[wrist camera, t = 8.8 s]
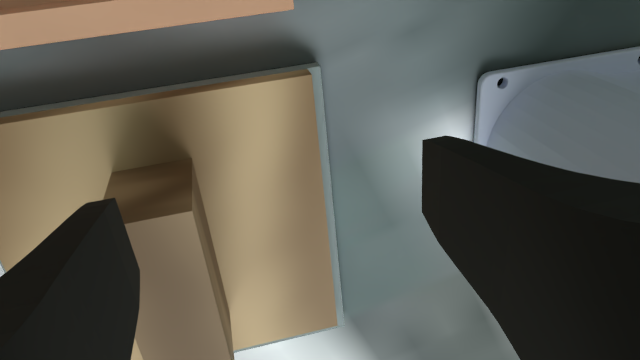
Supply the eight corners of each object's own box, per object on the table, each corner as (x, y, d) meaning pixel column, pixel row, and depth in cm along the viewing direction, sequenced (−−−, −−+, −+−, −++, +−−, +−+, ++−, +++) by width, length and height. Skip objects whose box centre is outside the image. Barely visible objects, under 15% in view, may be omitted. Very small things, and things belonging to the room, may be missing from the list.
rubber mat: (317, 62, 20) (320, 66, 19) (341, 318, 27) (344, 326, 26) (-62, 121, 18) (-70, 127, 17) (69, 382, 25) (66, 392, 24)
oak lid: (307, 69, 19) (339, 110, 15) (333, 314, 26) (361, 391, 22) (-55, 126, 17) (-131, 191, 13) (70, 377, 24) (45, 474, 20)
